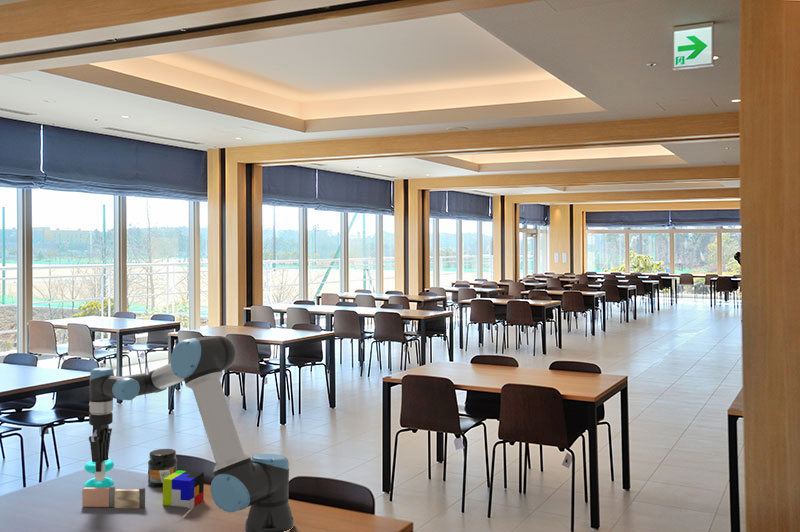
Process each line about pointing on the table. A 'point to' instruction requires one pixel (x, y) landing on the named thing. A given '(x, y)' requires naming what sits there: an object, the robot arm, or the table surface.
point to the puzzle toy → (183, 489)
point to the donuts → (91, 469)
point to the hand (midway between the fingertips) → (99, 479)
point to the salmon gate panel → (98, 497)
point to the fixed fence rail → (130, 498)
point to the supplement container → (161, 466)
